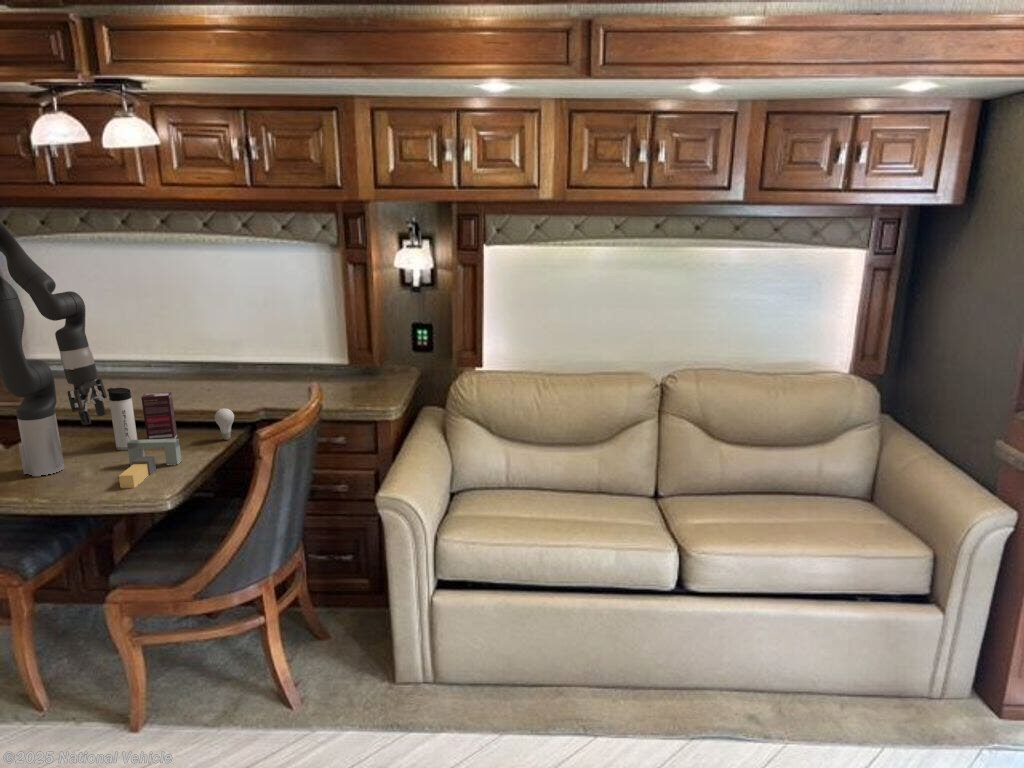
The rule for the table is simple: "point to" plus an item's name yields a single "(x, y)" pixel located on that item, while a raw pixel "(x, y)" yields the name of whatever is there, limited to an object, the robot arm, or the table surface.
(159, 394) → the supplement box
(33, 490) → the table surface
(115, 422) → the travel mug
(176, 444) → the grey-blue bridge block
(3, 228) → the robot arm
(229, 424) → the lightbulb
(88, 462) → the table surface
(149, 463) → the plug
